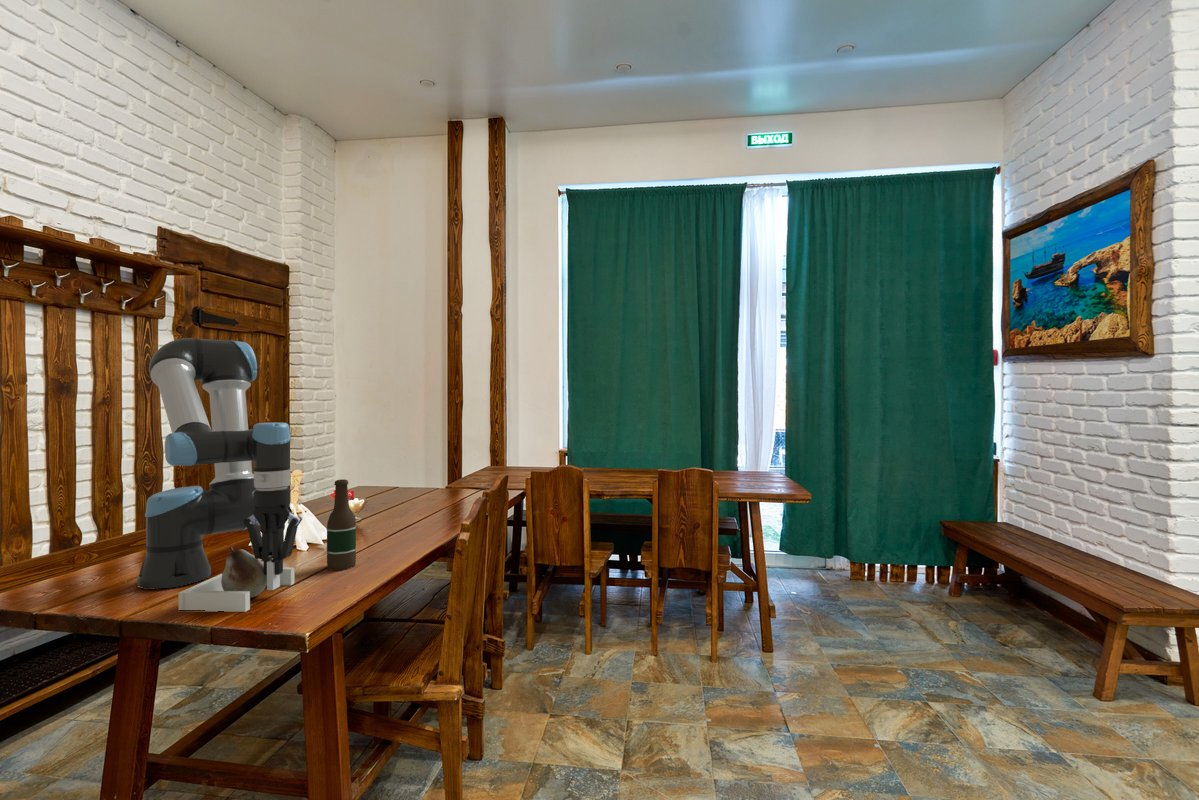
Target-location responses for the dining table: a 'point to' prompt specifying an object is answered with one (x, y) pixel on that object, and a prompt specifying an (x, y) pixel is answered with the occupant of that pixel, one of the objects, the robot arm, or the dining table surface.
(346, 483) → the beer bottle
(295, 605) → the dining table surface
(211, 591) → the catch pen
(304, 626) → the dining table surface
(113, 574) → the dining table surface
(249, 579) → the fruit
